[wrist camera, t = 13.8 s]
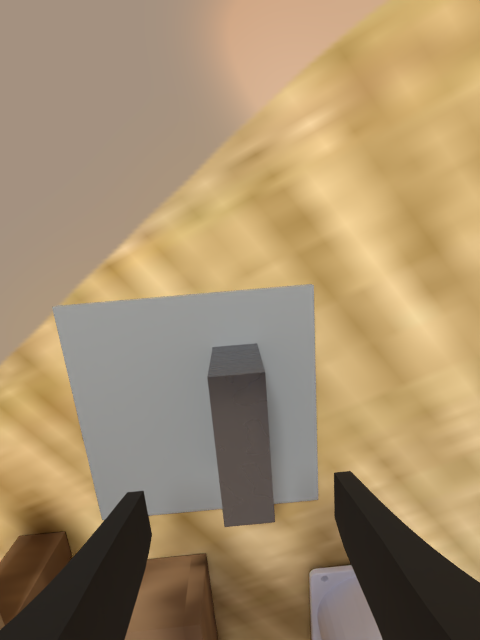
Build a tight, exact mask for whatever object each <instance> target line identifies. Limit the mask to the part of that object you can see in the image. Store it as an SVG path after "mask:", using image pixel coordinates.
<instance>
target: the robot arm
mask: <svg viewBox="0 0 480 640" xmlns="http://www.w3.org/2000/svg"><path fill="white" fill-rule="evenodd" d="M334 503H335V520H336V523H337V527H338V530H339V533H340V536H341V539H342V542H343V546H344V549H345V551H346V553H347V556H348V558H349V561H350V563H351V565H346V566H336V567H326V568H317V569H313V570H311V571H310V573H309V589H310V617H311V640H480V583H479V582H478V581H477V580H475V579H474V578H472V577H471V576H469V575H468V574H467V573H465V572H464V571H462V570H461V569H460V568H458V567H457V566H456V565H454V564H453V563H452V562H450V561H449V560H448V559H446V558H445V557H444V556H442V555H441V554H440V553H438V552H437V551H436V550H435V549H433V548H432V547H431V546H430V545H429V544H427V543H426V542H425V541H424V540H423V539H421V538H420V537H419V536H418V535H417V534H416V533H414V532H413V531H412V530H411V529H410V528H409V527H408V526H406V525H405V524H404V523H403V522H402V521H401V520H400V519H399V518H398V517H397V516H395V515H394V514H393V513H392V512H391V511H390V510H389V509H388V508H387V507H386V506H385V505H384V504H383V503H382V502H381V501H380V500H379V499H378V498H377V497H376V496H375V495H374V494H373V493H372V492H370V490H369V489H368V488H367V487H366V486H365V485H364V484H363V483H362V482H361V481H360V480H359V479H358V478H357V477H356V476H355V475H354V474H353V473H352V472H350V471H347V472H337V473H334ZM151 537H152V533H151V527H150V522H149V517H148V511H147V506H146V501H145V495H144V491H135V492H127V493H126V494H125V496H124V497H123V498H122V499H121V500H120V502H119V503H118V504H117V505H116V507H115V508H114V509H113V510H112V512H111V513H110V514H109V515H108V517H107V518H106V519H105V520H104V522H103V523H102V524H101V525H100V526H99V528H98V529H97V530H96V531H95V532H94V534H93V535H92V536H91V537H90V538H89V540H88V541H87V542H86V543H85V544H84V546H83V547H82V548H81V549H80V550H79V551H78V552H77V554H76V555H75V556H74V557H73V558H72V559H71V560H70V561H69V562H68V563H67V565H66V566H65V567H64V568H63V569H62V570H61V571H60V572H59V573H58V575H57V576H56V577H55V578H54V579H53V580H52V581H51V582H50V583H49V584H48V585H47V586H46V587H45V588H44V589H43V590H42V591H41V592H40V593H39V594H38V595H37V596H36V597H35V598H34V599H33V600H32V601H31V602H30V603H29V604H28V605H27V606H26V607H25V608H24V609H23V610H22V611H21V612H20V613H18V614H17V615H16V616H15V617H14V618H13V619H12V620H11V621H10V622H8V623H7V624H6V625H5V626H4V627H3V628H2V629H1V630H0V640H125V637H126V633H127V630H128V627H129V623H130V620H131V616H132V613H133V610H134V606H135V603H136V600H137V596H138V593H139V589H140V586H141V582H142V579H143V576H144V572H145V568H146V564H147V559H148V554H149V548H150V543H151Z"/></svg>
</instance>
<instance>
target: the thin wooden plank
mask: <svg viewBox="0 0 480 640" xmlns="http://www.w3.org/2000/svg"><path fill="white" fill-rule="evenodd" d="M4 626H5V625H4V623H3V620H2V617H1V614H0V630H1V629H2V628H3V627H4Z"/></svg>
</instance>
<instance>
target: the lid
mask: <svg viewBox="0 0 480 640" xmlns="http://www.w3.org/2000/svg"><path fill="white" fill-rule="evenodd" d="M52 308H53V313H54V317H55V321H56V325H57V330H58V334H59V338H60V342H61V347H62V351H63V355H64V359H65V364H66V368H67V372H68V376H69V381H70V385H71V389H72V393H73V398H74V402H75V406H76V410H77V415H78V419H79V423H80V427H81V432H82V436H83V440H84V444H85V449H86V453H87V457H88V461H89V466H90V470H91V474H92V478H93V483H94V487H95V491H96V495H97V500H98V504H99V508H100V512H101V517H102V520H105V519H106V518H107V517H108V515H109V514H110V513H111V512H112V510H113V509H114V508H115V507H116V505H117V504H118V503H119V502H120V500H121V499H122V498H123V497H124V496H125V494H126V493H127V492H135V491H144V495H145V501H146V506H147V511H148V516H150V515H160V514H171V513H182V512H192V511H203V510H214V509H223V518H224V526H225V527H230V526H240V525H251V524H261V523H272V522H275V514H274V504H278V503H288V502H299V501H310V500H318V467H317V421H316V375H315V329H314V285H312V284H306V285H295V286H283V287H271V288H260V289H248V290H236V291H224V292H213V293H201V294H189V295H177V296H166V297H154V298H142V299H131V300H119V301H107V302H95V303H84V304H72V305H61V304H60V305H57V306H54V307H52Z"/></svg>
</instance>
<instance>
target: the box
mask: <svg viewBox="0 0 480 640" xmlns="http://www.w3.org/2000/svg"><path fill="white" fill-rule="evenodd" d="M70 557H71V551H70V548H69V544H68V541H67V537H66V533H65V532H55V533H45V534H35V535H25V536H19V537H18V538H17V540H16V541H15V543H14V544H13V545H12V547H11V548H10V549H9V551H8V552H7V553H6V555H5V556H4V558H3V559H2V560H1V562H0V614H1V617H2V620H3V623H4V625H6V624H7V623H8V622H10V621H11V620H12V619H13V618H14V617H15V616H16V615H17V614H18V613H20V612H21V611H22V610H23V609H24V608H25V607H26V606H27V605H28V604H29V603H30V602H31V601H32V600H33V599H34V598H35V597H36V596H37V595H38V594H39V593H40V592H41V591H42V590H43V589H44V588H45V587H46V586H47V585H48V584H49V583H50V582H51V581H52V580H53V579H54V578H55V577H56V576H57V575H58V573H59V572H60V571H61V570H62V569H63V568H64V567H65V566H66V565H67V563H68V561H69V559H70ZM125 640H218V636H217V629H216V621H215V614H214V607H213V600H212V593H211V585H210V578H209V571H208V564H207V557H206V554H197V555H187V556H177V557H167V558H157V559H147V564H146V568H145V572H144V576H143V579H142V582H141V586H140V589H139V593H138V596H137V600H136V603H135V606H134V610H133V613H132V616H131V620H130V623H129V627H128V630H127V633H126V637H125Z"/></svg>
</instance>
